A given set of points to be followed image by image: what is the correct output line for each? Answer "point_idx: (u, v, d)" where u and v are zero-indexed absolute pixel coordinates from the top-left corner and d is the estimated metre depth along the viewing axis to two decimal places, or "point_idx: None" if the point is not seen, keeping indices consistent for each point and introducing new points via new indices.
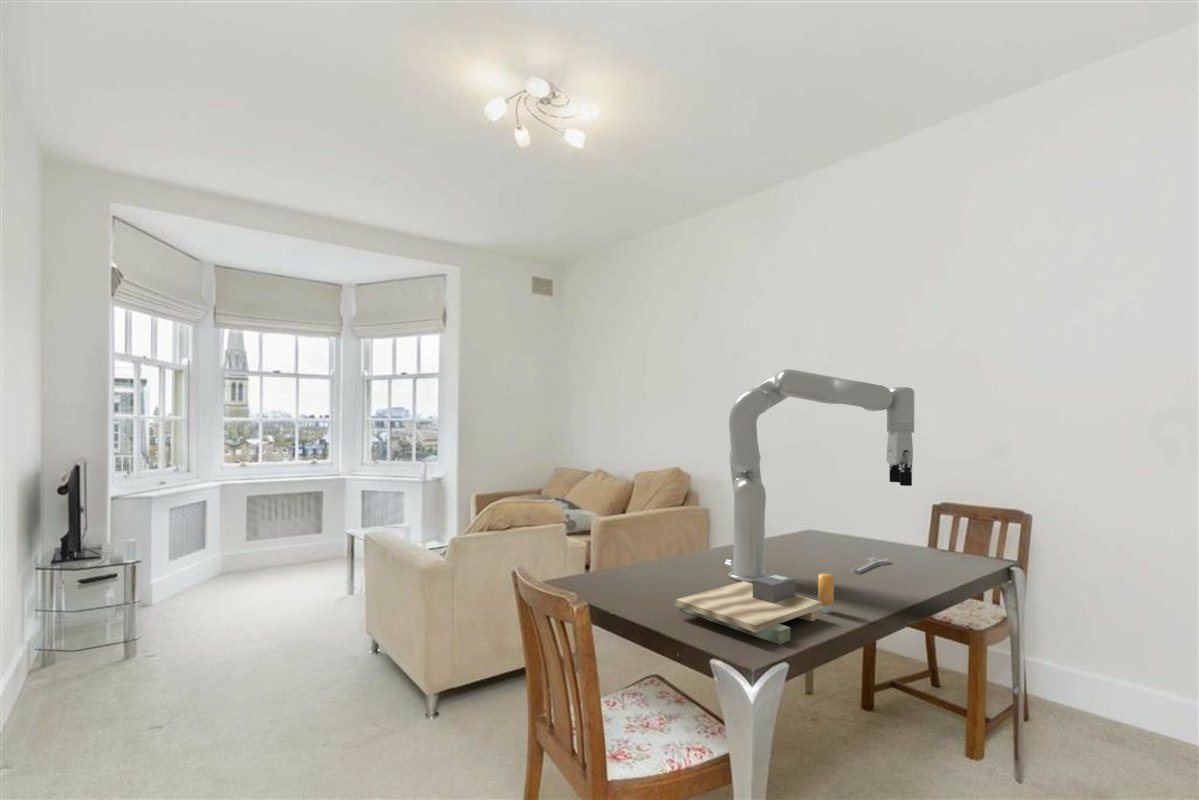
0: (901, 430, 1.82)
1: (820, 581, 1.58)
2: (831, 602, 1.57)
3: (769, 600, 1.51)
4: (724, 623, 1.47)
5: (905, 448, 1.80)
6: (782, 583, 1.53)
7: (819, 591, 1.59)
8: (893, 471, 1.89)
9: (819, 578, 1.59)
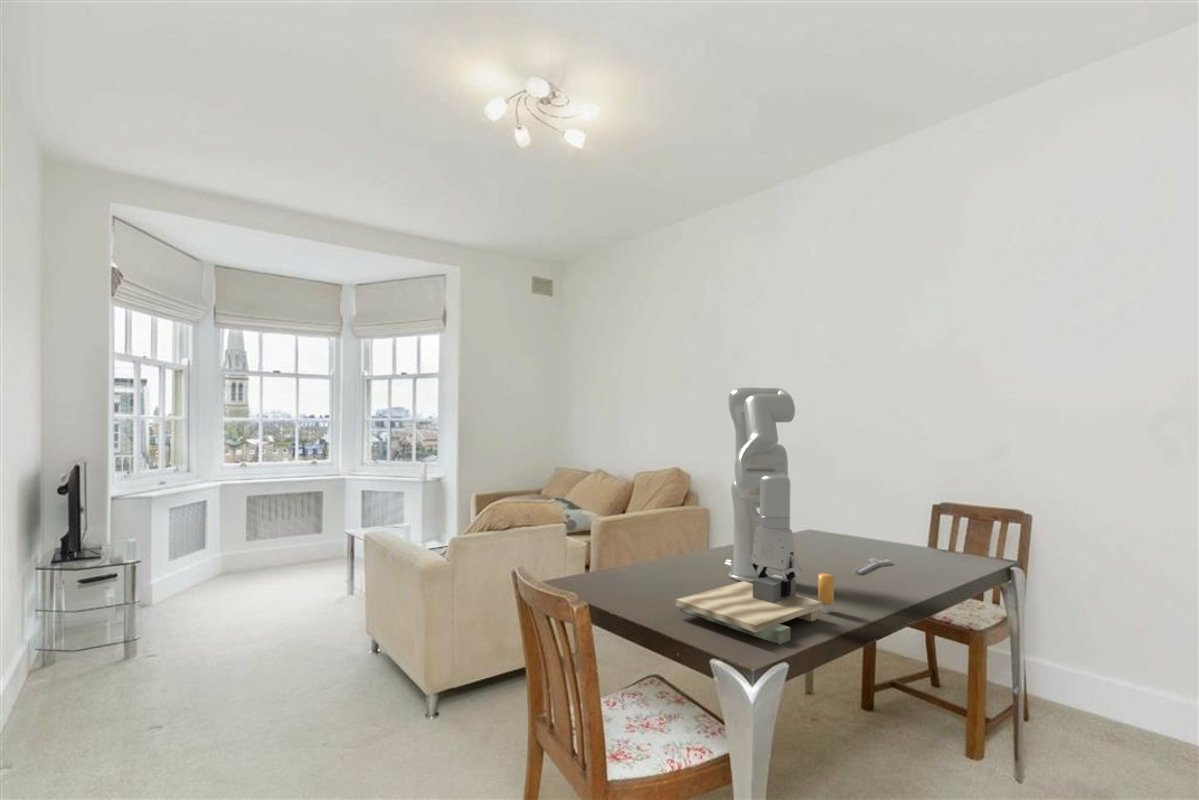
0: (785, 528, 1.53)
1: (820, 581, 1.58)
2: (831, 602, 1.57)
3: (769, 600, 1.51)
4: (724, 623, 1.47)
5: (791, 550, 1.52)
6: None
7: (819, 591, 1.59)
8: None
9: (819, 578, 1.59)
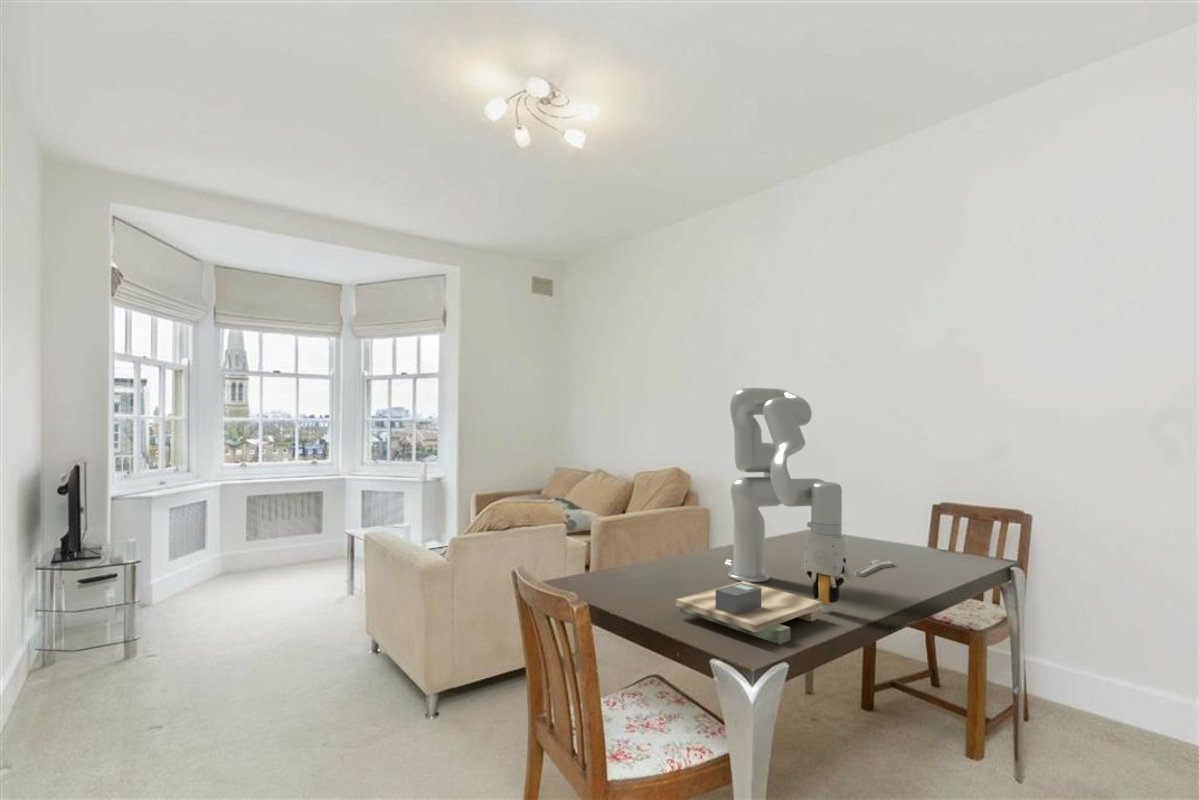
0: (837, 534, 1.56)
1: (820, 581, 1.58)
2: None
3: (732, 612, 1.42)
4: (724, 623, 1.47)
5: (843, 556, 1.55)
6: (746, 593, 1.44)
7: (819, 591, 1.59)
8: None
9: (819, 578, 1.59)
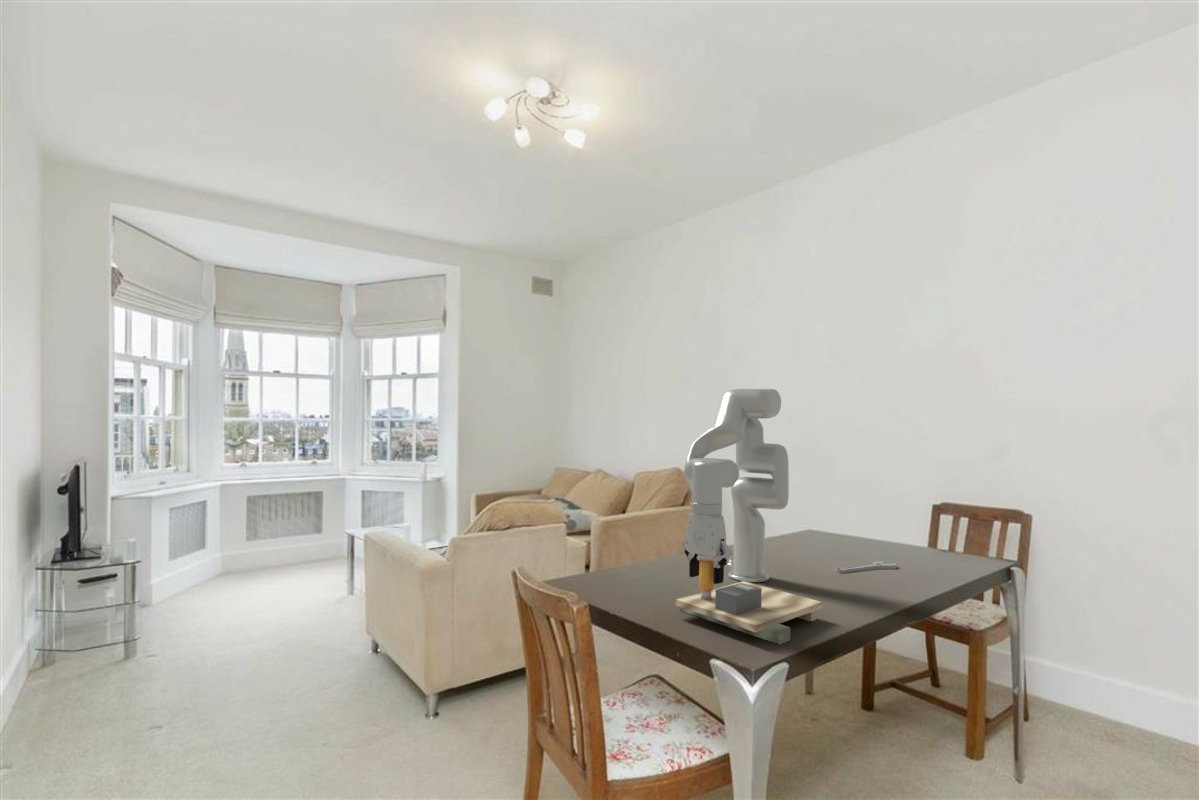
0: (715, 514, 1.51)
1: (700, 567, 1.53)
2: (710, 588, 1.52)
3: (732, 612, 1.42)
4: (724, 623, 1.47)
5: (721, 536, 1.50)
6: (746, 593, 1.44)
7: (699, 577, 1.53)
8: (693, 563, 1.56)
9: (699, 564, 1.54)
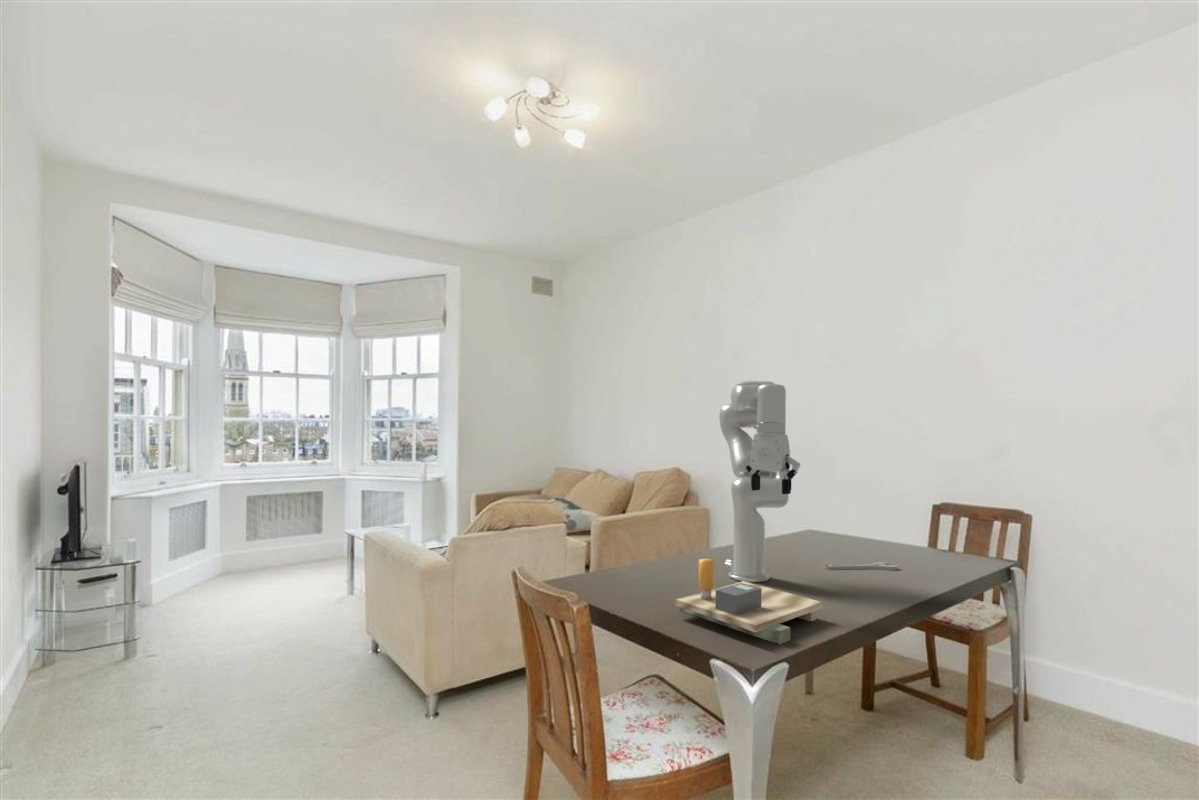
0: (780, 432, 1.63)
1: (700, 566, 1.53)
2: (710, 588, 1.52)
3: (732, 612, 1.42)
4: (724, 623, 1.47)
5: (786, 452, 1.62)
6: (746, 593, 1.44)
7: (699, 577, 1.54)
8: (755, 478, 1.69)
9: (699, 563, 1.54)
